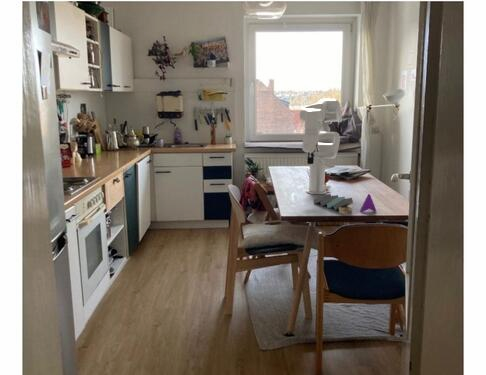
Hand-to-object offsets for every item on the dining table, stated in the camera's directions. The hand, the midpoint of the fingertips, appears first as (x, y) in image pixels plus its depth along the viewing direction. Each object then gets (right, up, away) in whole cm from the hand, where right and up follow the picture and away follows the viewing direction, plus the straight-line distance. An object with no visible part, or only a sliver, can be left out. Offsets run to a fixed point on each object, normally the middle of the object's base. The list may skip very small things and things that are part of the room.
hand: (310, 163), depth 256 cm
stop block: (+15, -27, -24) cm, 39 cm away
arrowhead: (+27, -27, -22) cm, 44 cm away
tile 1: (+3, -22, -3) cm, 22 cm away
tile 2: (+6, -23, -9) cm, 25 cm away
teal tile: (+9, -24, -14) cm, 29 cm away
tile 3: (+12, -24, -19) cm, 33 cm away
